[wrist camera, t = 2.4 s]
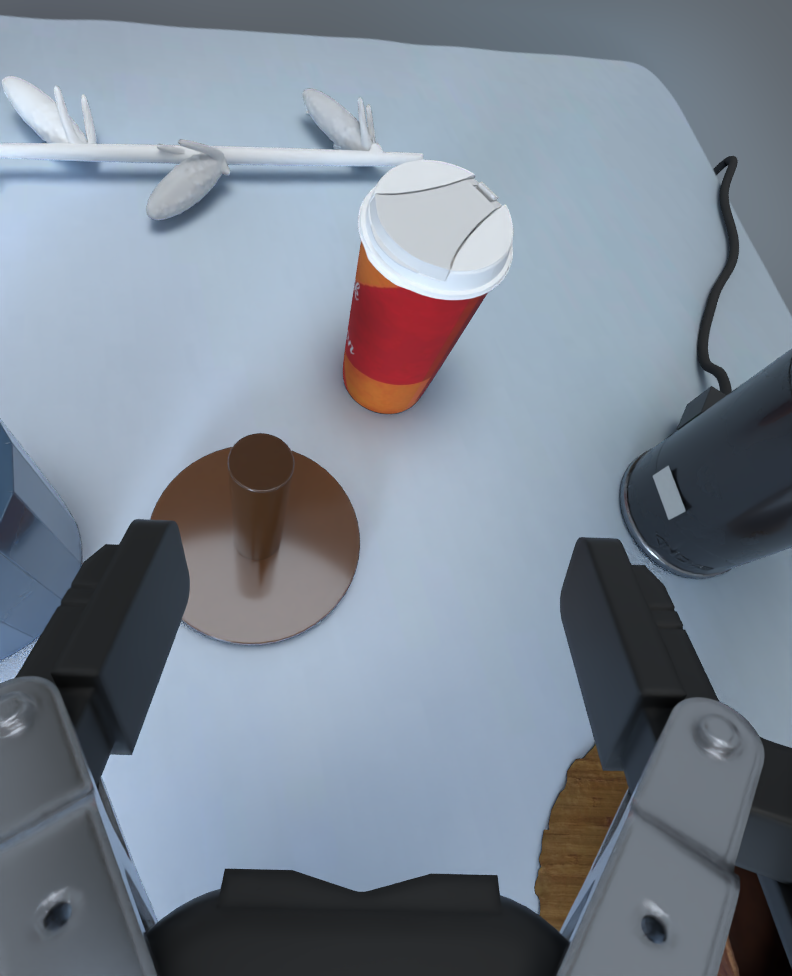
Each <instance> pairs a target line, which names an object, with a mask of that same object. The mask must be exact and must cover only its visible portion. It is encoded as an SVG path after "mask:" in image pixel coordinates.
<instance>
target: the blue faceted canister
mask: <svg viewBox="0 0 792 976" xmlns="http://www.w3.org/2000/svg"><path fill="white" fill-rule="evenodd" d="M81 561H82V546H81V540H80V535H79V531H78V527H77V524H76V522H75V521H74V519H73V517H72V515H71V513H70V512H69V510H68V509H67V507H66V506H65V504H64V502H63V501H62V499H61V497H60V496H59V494H58V493H57V492H56V491H55V489H54V488H53V487H52V485H51V484H50V483H49V481H48V480H47V479H46V477H45V476H44V475H43V474H42V472H41V471H40V470H39V468H38V467H37V466H36V464H35V463H34V462H33V460H32V459H31V458H30V456H29V455H28V454H27V453H26V451H25V450H24V449H23V447H22V446H21V445H20V443H19V442H18V441H17V439H16V438H15V437H14V435H13V434H12V433H11V432H10V430H9V429H8V428H7V426H6V425H5V424H4V422H3V421H2V420H1V418H0V660H2V659H4V658H6V657H8V656H10V655H12V654H14V653H16V652H17V651H19V650H21V649H22V648H24V647H25V646H27V645H28V644H30V643H31V642H32V641H34V640H35V639H36V638H37V637H39V636H40V635H41V634H42V632H43V631H44V629H45V627H46V626H47V624H48V622H49V620H50V619H51V617H52V615H53V614H54V612H55V610H56V609H57V607H58V606H59V607H60V605H61V600H62V598H63V597H64V595H65V593H66V592H67V590H68V589H70V588H71V583H72V581H73V580H74V578H75V576H76V575H77V573H78V571H79V570H80V568H81Z"/></svg>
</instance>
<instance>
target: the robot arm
mask: <svg viewBox="0 0 792 976" xmlns="http://www.w3.org/2000/svg"><path fill="white" fill-rule="evenodd" d="M726 166H728V168H727V171H726V173H725V176H724V178H723V181H722V184H721V188H720V205H721V210H722V214H723V218H724V221H725V224H726V228H727V232H728V236H729V244H730V251H729V257H728V261H727V264H726V266H725V268H724V270H723V272H722V273H721V275H720V277H719V278H718V280H717V281H716V283H715V285H714V287H713V288H712V291H711V293H710V296H709V299H708V302H707V306H706V309H705V312H704V316H703V319H702V323H701V327H700V332H699V338H698V357H699V361H700V365H701V367H702V368H703V369H704V370H705V371H707V372H709V373H711V374H713V375H714V376H715V377H716V378H717V380H718V383H719V387H720V391H719V390H717V389H716V388H714V387H712V386H711V387H710V388H708V389H707V390H706V391H704V392H703V393H702V394H700V395H699V396H698V397H697V398H695V399H694V400H693V401H691V402H690V403H689V404H687V406H686V409H685V411H684V413H683V416H682V418H681V421H680V423H679V425H678V428H677V430H678V431H676V432H675V433H673V434H672V435H671V436H669V437H668V438H667V439H665V440H664V441H662V442H661V443H660V444H658V445H657V446H656V447H654V448H653V449H650V450H648V451H646V452H645V453H643V454H642V455H640V456H639V457H638V458H636V459H635V460H634V461H633V462H632V463H631V464H630V465H629V467H628V468H627V470H626V472H625V474H624V476H623V479H622V483H621V489H620V503H621V509H622V513H623V517H624V520H625V523H626V525H627V527H628V529H629V531H630V533H631V535H632V537H633V538H634V540H635V541H636V543H637V544H638V545H639V547H640V548H641V549H642V550H643V551H644V552H645V553H646V554H647V555H648V556H649V557H650V558H651V559H652V560H653V561H654V562H656V563H657V564H659V565H660V566H661V567H663V568H665V569H666V570H668V571H670V572H672V573H675V574H677V575H680V576H684V577H688V578H695V579H703V578H710V577H714V576H717V575H720V574H723V573H725V572H727V571H729V570H730V569H732V568H735V567H737V566H740V565H743V564H746V563H749V562H751V561H754V560H758V559H761V558H763V557H766V556H769V555H772V554H775V553H777V552H780V551H783V550H786V549H789V548H791V547H792V349H790V350H789V351H788V352H786V353H785V354H783V355H782V356H781V357H779V358H778V359H776V360H775V361H774V362H772V363H771V364H770V365H768V366H767V367H765V368H764V369H763V370H761V371H760V372H758V373H757V374H756V375H754V376H753V377H751V378H750V379H749V380H747V381H746V382H745V383H743V384H742V385H740V386H739V387H738V388H736V389H735V390H733V391H731V385H730V381H729V378H728V376H727V374H726V372H725V370H724V369H722V368H721V367H719V366H717V365H715V364H713V363H712V362H711V361H710V359H709V354H708V338H709V332H710V327H711V323H712V319H713V316H714V312H715V309H716V305H717V302H718V298H719V295H720V293H721V290H722V288H723V286H724V285H725V283H726V281H727V280H728V278H729V277H730V275H731V273H732V272H733V270H734V268H735V265H736V263H737V259H738V254H739V240H738V234H737V230H736V226H735V222H734V219H733V216H732V213H731V209H730V204H729V196H728V194H729V187H730V183H731V180H732V177H733V175H734V172H735V169H736V167H737V158H736V157H735V156H729V157H727V158H725V159H724V160H723V161H721V162H720V163H719V164H718V165H717V166H716V167H715V168H714V169H713V171H714V173H715V175H716V176H717V175H718V173H720V171H722V170H723V169H724V168H725V167H726ZM189 592H190V576H189V571H188V567H187V562H186V558H185V553H184V549H183V545H182V540H181V536H180V531H179V528H178V525H177V523H176V522H175V521H170V520H144V519H136V520H134V521H133V522H132V523H131V524H130V526H129V528H128V529H127V531H126V533H125V535H124V537H123V539H122V541H121V542H120V544H119V545H111V544H105V545H104V546H103V547H102V548H100V549H99V550H98V551H97V552H96V553H94V554H93V555H92V556H91V557H90V558H89V559H87V560H86V561H85V562H84V563H83V565H82V566H81V568H80V570H79V571H78V573H77V575H76V576H75V578H74V580H73V581H72V583H71V588H70V589H68V590H67V592H66V593H65V595H64V597H63V598H62V600H61V605H60V607H59V606H58V607H57V609H56V610H55V612H54V614H53V615H52V617H51V619H50V620H49V622H48V624H47V626H46V627H45V629H44V631H43V632H42V634H41V636H40V637H39V639H38V641H37V642H36V644H35V646H34V648H33V649H32V651H31V653H30V654H29V656H28V658H27V659H26V661H25V663H24V664H23V666H22V668H21V670H20V671H19V673H18V674H17V676H16V677H15V678H14V679H10V680H8V681H5V682H3V683H0V976H717V975H718V971H719V967H720V963H721V960H722V956H723V952H724V949H725V945H726V941H727V938H728V934H729V930H730V926H731V923H732V919H733V915H734V912H735V908H736V904H737V900H738V896H739V891H740V877H739V876H738V875H737V874H735V873H734V867H735V866H738V867H741V868H743V869H746V870H749V871H751V872H754V873H757V876H758V879H759V881H760V884H761V887H762V889H763V892H764V895H765V898H766V900H767V903H768V906H769V908H770V911H771V914H772V917H773V919H774V922H775V925H776V928H777V930H778V933H779V936H780V938H781V941H782V944H783V947H784V949H785V952H786V955H787V957H788V960H789V963H790V966H791V968H792V748H789V747H786V746H783V745H780V744H777V743H774V742H771V741H768V740H766V739H763V738H761V737H759V735H758V734H757V732H756V731H755V729H754V728H753V726H752V725H751V724H750V723H749V722H748V721H747V720H746V719H745V718H744V717H743V716H742V715H741V714H739V713H738V712H737V711H735V710H734V709H732V708H731V707H729V706H727V705H725V704H723V703H721V702H720V701H719V700H718V698H717V696H716V694H715V692H714V690H713V688H712V685H711V683H710V681H709V679H708V677H707V675H706V673H705V671H704V669H703V666H702V664H701V662H700V660H699V658H698V656H697V654H696V652H695V649H694V647H693V645H692V643H691V641H690V639H689V637H688V635H687V633H686V630H683V624H682V622H681V620H680V618H679V616H678V614H677V611H674V605H673V603H672V601H671V599H670V597H669V595H668V592H667V590H666V588H665V586H664V585H663V584H662V583H661V582H660V581H659V580H658V579H657V578H656V577H655V576H654V574H653V573H652V572H651V571H650V570H649V569H648V568H647V567H646V566H643V565H631V563H630V561H629V559H628V556H627V554H626V552H625V549H624V547H623V545H622V543H621V542H620V540H618V539H611V538H585V537H581V538H579V539H578V540H577V542H576V544H575V547H574V550H573V554H572V557H571V560H570V563H569V567H568V570H567V573H566V577H565V580H564V583H563V586H562V590H561V596H560V612H561V619H562V623H563V626H564V630H565V634H566V637H567V641H568V645H569V648H570V652H571V656H572V659H573V663H574V667H575V670H576V674H577V678H578V681H579V685H580V689H581V692H582V696H583V700H584V703H585V707H586V711H587V714H588V718H589V722H590V725H591V729H592V733H593V736H594V740H595V744H596V747H597V751H598V755H599V758H600V762H601V766H602V769H603V771H624V774H625V777H626V780H627V784H628V787H629V788H628V790H627V792H626V793H625V795H624V798H623V800H622V802H621V804H620V806H619V808H618V811H617V813H616V815H615V817H614V819H613V821H612V824H611V826H610V828H609V830H608V832H607V834H606V836H605V839H604V841H603V843H602V845H601V847H600V849H599V852H598V854H597V856H596V858H595V860H594V862H593V865H592V867H591V869H590V871H589V873H588V875H587V878H586V880H585V882H584V884H583V886H582V888H581V890H580V892H579V894H578V896H577V898H576V899H575V901H574V903H573V905H572V907H571V909H570V911H569V913H568V915H567V918H566V920H565V922H564V924H563V926H562V928H561V930H560V932H559V931H558V930H557V929H556V928H554V927H553V926H552V925H551V924H550V923H548V922H547V921H546V920H545V919H543V918H542V917H541V916H539V915H538V914H536V913H535V912H533V911H532V910H530V909H529V908H527V907H526V906H523V905H521V904H519V903H517V902H515V901H513V900H511V899H509V898H506V897H503V896H500V893H499V884H498V876H497V875H463V874H428V875H425V876H421V877H417V878H414V879H410V880H407V881H403V882H399V883H396V884H392V885H389V886H385V887H381V888H378V889H374V890H371V891H366V892H357V891H353V890H350V889H347V888H344V887H341V886H338V885H335V884H332V883H329V882H326V881H323V880H320V879H317V878H314V877H311V876H308V875H305V874H302V873H299V872H296V871H293V870H258V869H225V871H224V876H223V881H222V886H221V889H219V890H215V891H212V892H209V893H206V894H204V895H202V896H199V897H197V898H194V899H192V900H191V901H189V902H187V903H185V904H184V905H182V906H180V907H178V908H176V909H175V910H174V911H172V912H171V913H170V914H168V915H167V916H165V917H164V918H163V919H161V920H160V921H159V922H158V920H157V918H156V915H155V912H154V910H153V907H152V905H151V902H150V900H149V898H148V895H147V893H146V891H145V888H144V886H143V884H142V881H141V879H140V877H139V874H138V872H137V869H136V867H135V864H134V862H133V859H132V856H131V853H130V851H129V848H128V845H127V843H126V840H125V837H124V835H123V832H122V829H121V827H120V824H119V821H118V819H117V816H116V813H115V811H114V808H113V805H112V803H111V800H110V797H109V795H108V792H107V789H106V787H105V784H104V781H103V779H102V777H101V775H102V773H103V770H104V768H105V765H106V763H107V760H108V758H109V755H110V754H116V755H132V753H133V750H134V747H135V745H136V742H137V739H138V736H139V734H140V731H141V728H142V726H143V723H144V720H145V717H146V715H147V712H148V709H149V707H150V704H151V701H152V698H153V696H154V693H155V690H156V688H157V685H158V682H159V679H160V677H161V674H162V671H163V669H164V666H165V663H166V660H167V658H168V655H169V652H170V650H171V647H172V644H173V641H174V639H175V636H176V633H177V631H178V628H179V625H180V622H181V620H182V617H183V614H184V612H185V609H186V606H187V603H188V598H189Z"/></svg>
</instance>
